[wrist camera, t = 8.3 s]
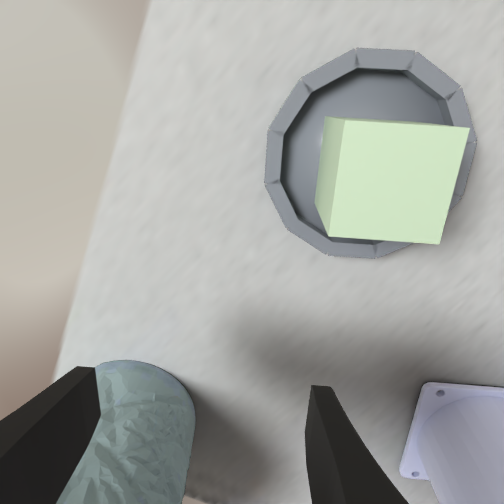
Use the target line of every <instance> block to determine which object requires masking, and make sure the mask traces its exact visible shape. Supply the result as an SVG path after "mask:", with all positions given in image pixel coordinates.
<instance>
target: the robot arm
mask: <svg viewBox="0 0 504 504" xmlns="http://www.w3.org/2000/svg"><path fill="white" fill-rule="evenodd" d="M439 390H441V391H440V392H437V391H439ZM100 416H101V410H100V402H99V394H98V387H97V379H96V371H95V368H92V367H80V366H77V367H75V368H74V369H72V370H71V371H70V372H68V373H67V374H65V375H64V376H63V377H61V378H60V379H59V380H57V381H56V382H55V383H53V384H52V385H50V386H49V387H48V388H46V389H45V390H44V391H42V392H41V393H40V394H38V395H37V396H35V397H34V398H33V399H31V400H30V401H28V402H27V403H26V404H24V405H23V406H21V407H20V408H19V409H17V410H16V411H14V412H13V413H11V414H10V415H8V416H7V417H5V418H4V419H2V420H1V421H0V504H56V503H57V501H58V499H59V497H60V496H61V494H62V492H63V490H64V488H65V487H66V485H67V483H68V481H69V480H70V478H71V476H72V474H73V473H74V471H75V469H76V467H77V465H78V464H79V462H80V460H81V458H82V456H83V455H84V453H85V451H86V449H87V447H88V445H89V443H90V441H91V438H92V436H93V434H94V431H95V429H96V426H97V424H98V421H99V419H100ZM305 446H306V465H307V472H308V479H309V485H310V492H311V499H312V504H409V503H408V502H407V501H406V500H405V498H404V497H403V496H402V495H401V493H400V492H399V491H398V490H397V489H396V487H395V486H394V485H393V483H392V482H391V481H390V480H389V478H388V477H387V476H386V474H385V473H384V472H383V470H382V469H381V467H380V466H379V465H378V463H377V462H376V460H375V459H374V458H373V456H372V455H371V453H370V452H369V450H368V449H367V447H366V446H365V444H364V443H363V441H362V440H361V438H360V436H359V435H358V433H357V432H356V430H355V429H354V427H353V425H352V424H351V422H350V420H349V419H348V417H347V415H346V413H345V412H344V410H343V408H342V406H341V404H340V402H339V401H338V399H337V397H336V395H335V393H334V391H333V389H332V388H331V387H328V386H316V385H311V392H310V399H309V406H308V414H307V421H306V428H305ZM399 472H400V474H401V476H402V477H404V478H410V479H421V480H430V483H431V485H432V487H433V490H434V492H435V495H436V497H437V499H438V502H439V504H504V388H499V387H487V386H474V385H462V384H449V383H436V382H428V383H426V384H424V385H423V387H422V389H421V392H420V396H419V399H418V403H417V406H416V410H415V414H414V417H413V421H412V424H411V428H410V431H409V435H408V438H407V442H406V445H405V449H404V452H403V456H402V459H401V463H400V466H399Z"/></svg>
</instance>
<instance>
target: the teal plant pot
mask: <svg viewBox="0 0 504 504" xmlns="http://www.w3.org/2000/svg"><path fill="white" fill-rule="evenodd" d="M95 371H96V379H97V387H98V394H99V402H100V410H101V416H100V419H99V421H98V424H97V426H96V429H95V431H94V434H93V436H92V438H91V441H90V443H89V445H88V447H87V449H86V451H85V453H84V455H83V456H82V458H81V460H80V462H79V464H78V465H77V467H76V469H75V471H74V473H73V474H72V476H71V478H70V480H69V481H68V483H67V485H66V487H65V488H64V490H63V492H62V494H61V496H60V497H59V499H58V501H57V503H56V504H182V499H183V497H184V492H185V486H186V479H187V470H188V469H189V466H190V457H191V448H192V443H193V438H194V431H195V424H196V418H195V409H194V404H193V402H192V399H191V397H190V395H189V393H188V392H187V390H186V389H185V388H184V387H183V386H182V384H181V383H180V382H179V381H178V380H177V379H175V378H174V377H173V376H172V375H170V374H169V373H167V372H165V371H164V370H162V369H160V368H158V367H155V366H153V365H150V364H147V363H143V362H138V361H131V360H119V361H111V362H105V363H102V364H100V365H98V366H96V367H95Z"/></svg>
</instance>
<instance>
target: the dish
mask: <svg viewBox="0 0 504 504" xmlns="http://www.w3.org/2000/svg"><path fill="white" fill-rule="evenodd" d="M459 87H460V85H459V84H458V83H456V82H455V81H454V80H453V79H451V78H450V77H449V76H448V75H446V74H445V73H444V72H443V71H441V70H440V69H439V68H437V67H436V66H435V65H434V64H432V63H431V62H430V61H429V60H427V59H426V58H425V57H424V56H422V55H421V54H420V53H419V52H415V51H411V50H391V49H371V48H356V49H352V50H350V51H349V52H347V53H345V54H343V55H341V56H340V57H338V58H336V59H334V60H332V61H330V62H329V63H327V64H325V65H323V66H321V67H320V68H318V69H316V70H314V71H312V72H310V73H309V74H307V75H305V76H303V77H301V78H300V79H299V80H298V82H297V83H296V85H295V87H294V88H293V90H292V91H291V93H290V94H289V96H288V98H287V99H286V101H285V102H284V103H283V105H282V107H281V108H280V110H279V112H278V113H277V115H276V117H275V118H274V120H273V121H272V123H271V124H270V126H269V129H270V130H268V134H267V149H266V165H265V180H264V183H265V187H266V189H267V191H268V193H269V195H270V197H271V199H272V201H273V203H274V205H275V207H276V209H277V211H278V213H279V215H280V217H281V219H282V221H283V223H284V225H285V227H286V228H287V230H289V231H290V232H292V233H293V234H295V235H296V236H298V237H299V238H301V239H302V240H304V241H306V242H307V243H309V244H310V245H312V246H313V247H315V248H316V249H318V250H319V251H321V252H322V253H324V254H328V255H330V256H344V257H359V258H373V259H375V257H377V258H379V257H382V256H384V255H386V254H389V253H391V252H394V251H396V250H399V249H401V248H403V247H406V246H408V245H411V244H413V242H400V241H386V240H372V239H358V238H344V237H330V236H328V234H327V232H326V230H325V227H324V225H323V222H322V220H321V217H320V215H319V213H318V210H317V208H316V205H315V203H314V202H315V194H316V186H317V178H318V169H319V161H320V153H321V145H322V137H323V129H324V121H325V116H332V117H348V118H364V119H380V120H396V121H412V122H422V123H431V124H439V125H448V126H457V127H466V128H470V130H469V134H468V138H467V141H466V145H465V149H464V153H463V157H462V160H461V164H460V168H459V172H458V176H457V179H456V183H455V187H454V191H453V194H452V198H451V202H450V206H449V210H448V212H449V211H450V210H451V209H452V208H453V207H454V206H455V205H456V204H457V202H458V201H459V200H460V199H461V197H460V196H463V193H464V190H465V186H466V182H467V178H468V175H469V171H470V167H471V164H472V160H473V156H474V153H475V149H476V145H477V143H475V141H477V138H476V135H475V131H474V128H473V124H472V121H471V117H470V114H469V110H468V107H467V103H466V100H465V96H464V93H463V89H462V88H459ZM458 195H460V196H458ZM447 214H448V213H447Z"/></svg>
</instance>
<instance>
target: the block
mask: <svg viewBox="0 0 504 504" xmlns="http://www.w3.org/2000/svg"><path fill="white" fill-rule="evenodd" d="M469 130H470V128H466V127H457V126H448V125H439V124H431V123H422V122H412V121H396V120H380V119H364V118H348V117H332V116H325V121H324V129H323V137H322V145H321V153H320V161H319V169H318V178H317V186H316V194H315V202H314V203H315V205H316V208H317V210H318V213H319V215H320V217H321V220H322V222H323V225H324V227H325V230H326V232H327V234H328V236H330V237H344V238H358V239H372V240H386V241H400V242H413V243H427V244H440V240H441V236H442V232H443V229H444V225H445V221H446V217H447V213H448V210H449V206H450V202H451V198H452V194H453V191H454V187H455V183H456V179H457V176H458V172H459V168H460V164H461V160H462V157H463V153H464V149H465V145H466V141H467V138H468V134H469Z"/></svg>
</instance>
